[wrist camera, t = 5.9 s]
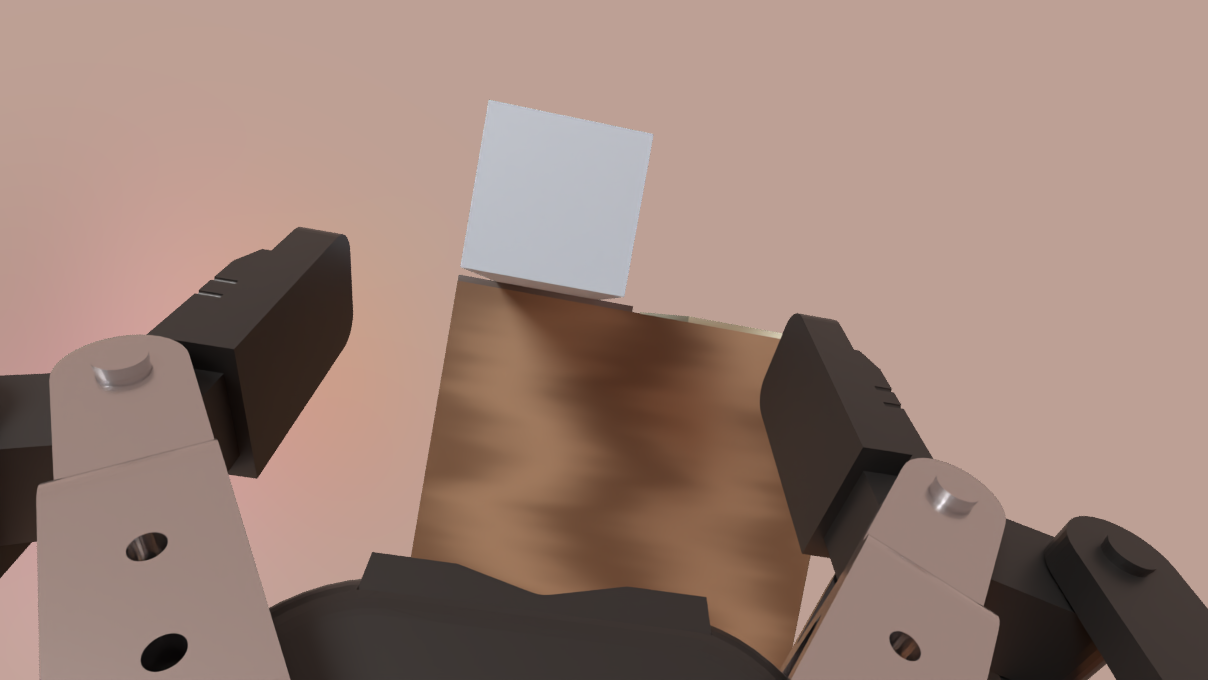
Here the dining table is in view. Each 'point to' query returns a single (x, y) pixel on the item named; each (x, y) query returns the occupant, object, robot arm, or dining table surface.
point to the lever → (555, 202)
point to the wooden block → (611, 458)
